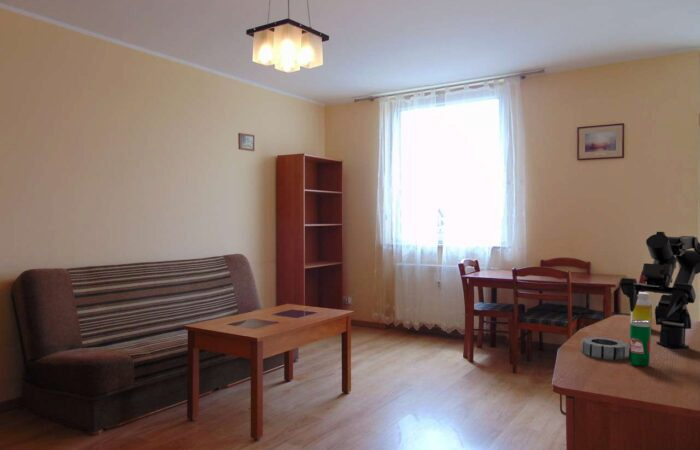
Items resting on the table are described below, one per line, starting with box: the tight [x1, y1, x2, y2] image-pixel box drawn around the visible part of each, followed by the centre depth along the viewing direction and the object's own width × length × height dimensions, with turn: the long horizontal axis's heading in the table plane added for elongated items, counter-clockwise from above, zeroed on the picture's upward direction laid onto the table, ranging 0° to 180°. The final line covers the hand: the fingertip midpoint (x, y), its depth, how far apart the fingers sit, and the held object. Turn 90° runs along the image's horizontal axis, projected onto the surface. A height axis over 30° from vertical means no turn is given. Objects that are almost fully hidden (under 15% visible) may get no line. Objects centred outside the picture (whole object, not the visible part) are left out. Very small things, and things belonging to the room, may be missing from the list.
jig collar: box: [580, 336, 629, 361], centre depth 153 cm, size 12×12×4 cm
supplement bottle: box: [630, 291, 653, 327], centre depth 188 cm, size 7×7×13 cm
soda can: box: [628, 320, 652, 368], centre depth 142 cm, size 5×5×12 cm
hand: (648, 313), depth 148 cm, fingers open, 9 cm apart
